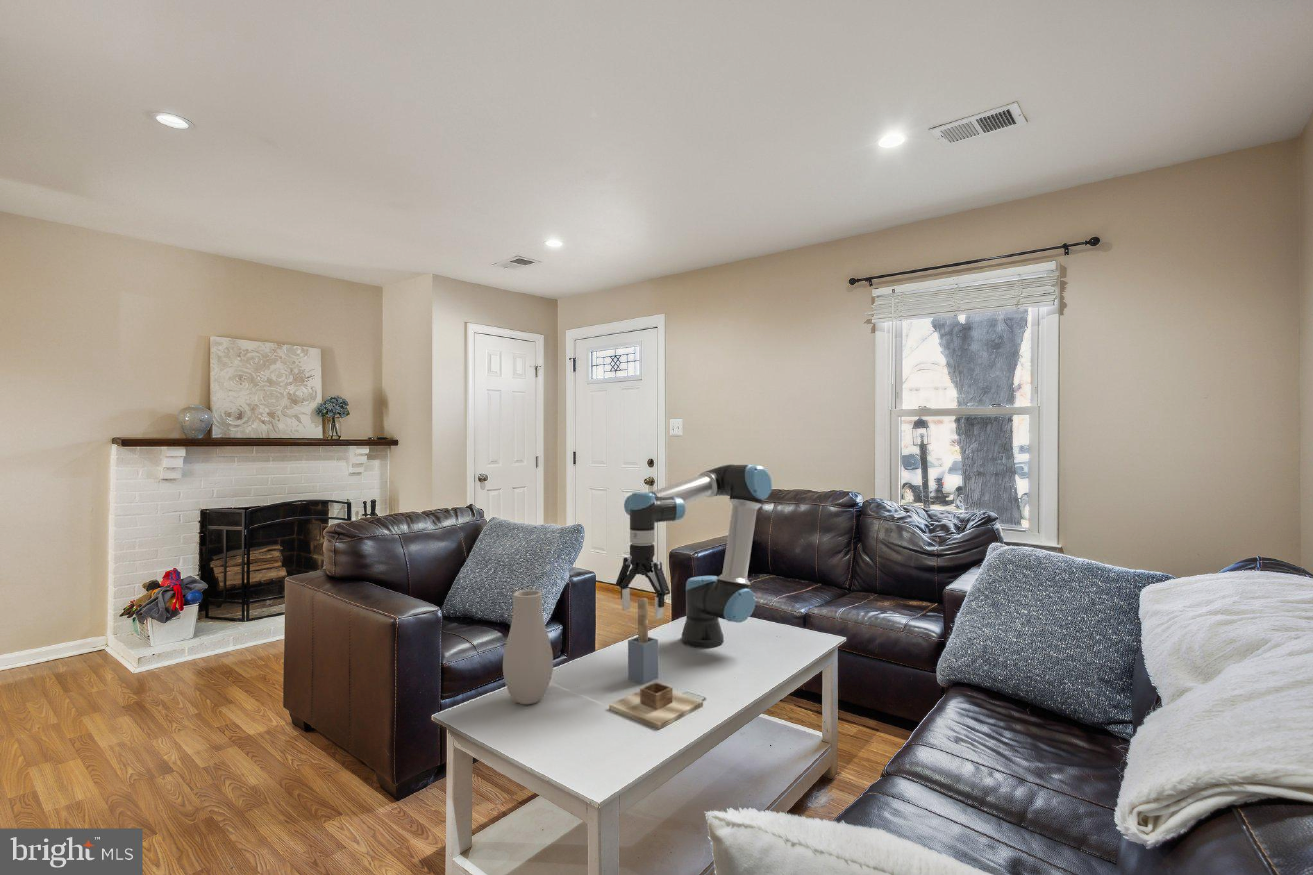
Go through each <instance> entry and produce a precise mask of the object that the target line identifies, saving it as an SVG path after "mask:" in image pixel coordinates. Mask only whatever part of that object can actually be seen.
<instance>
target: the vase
mask: <svg viewBox="0 0 1313 875" xmlns="http://www.w3.org/2000/svg"><path fill="white" fill-rule="evenodd" d="M512 601H513V602H512V603H513V612H512V620H511V625H510V628H509V633H508V636H507V639H506V643H505V648H504V651H503V657H502V672H503V673H502V674H503V679H504V684H505V686H506V689H507V691H508V693H509V695H510V697H511V698H512V699H513V701H514V702H516V703H517V704H520V705H532V704H536V703H538V702H540V700H542V699H543V698H544V696H545V694H546V693H547V691H548V689H549V686H550V683H551V679H552V676H553V671H554V654H553V649H552V644H551V641H550V637H549V634H548V633H549V632H548V630H547V627H546V624H545V619H544V614H543V592H542V590H538V589H525V590H524V589H523V590H518V591H515V592H513V594H512Z"/></svg>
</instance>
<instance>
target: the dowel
mask: <svg viewBox="0 0 1313 875" xmlns="http://www.w3.org/2000/svg"><path fill="white" fill-rule="evenodd" d="M648 602H649V601H648V598H647V597H639V598H637V637H638V642H640V643H643V644H644V643H646V642H648V637H649V622H648V621H649V616H648V615H649V612H648V611H649V610H648V608H649V604H648Z"/></svg>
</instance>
